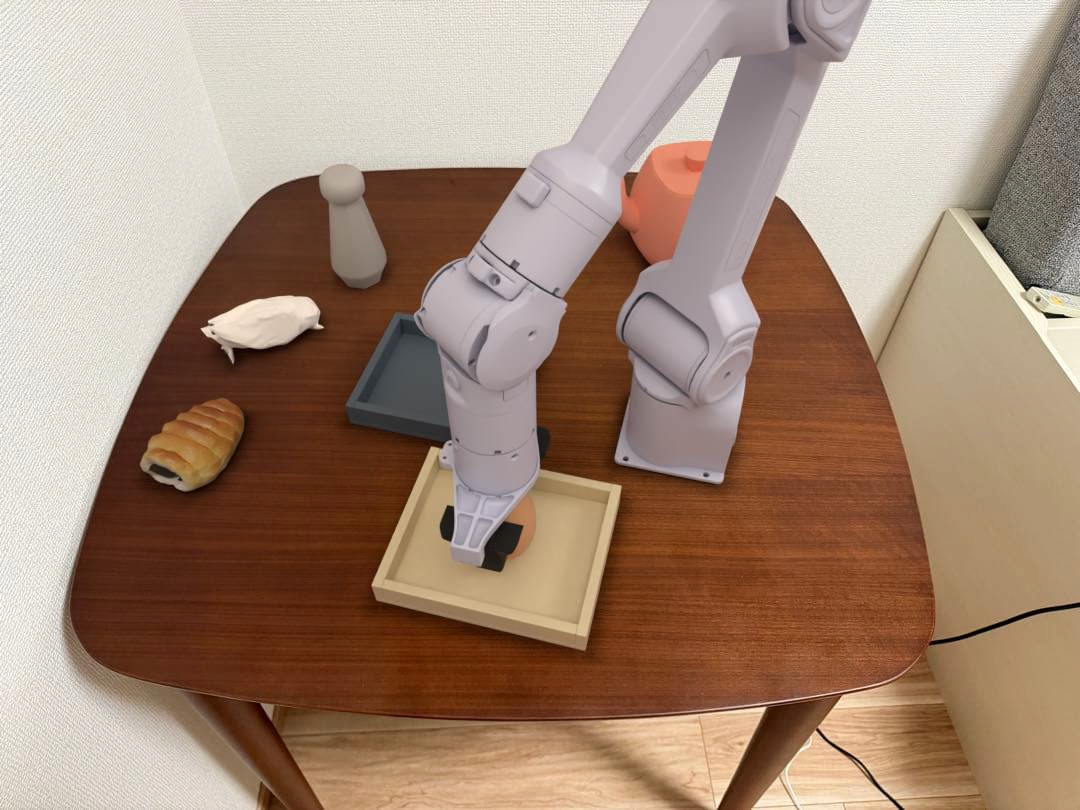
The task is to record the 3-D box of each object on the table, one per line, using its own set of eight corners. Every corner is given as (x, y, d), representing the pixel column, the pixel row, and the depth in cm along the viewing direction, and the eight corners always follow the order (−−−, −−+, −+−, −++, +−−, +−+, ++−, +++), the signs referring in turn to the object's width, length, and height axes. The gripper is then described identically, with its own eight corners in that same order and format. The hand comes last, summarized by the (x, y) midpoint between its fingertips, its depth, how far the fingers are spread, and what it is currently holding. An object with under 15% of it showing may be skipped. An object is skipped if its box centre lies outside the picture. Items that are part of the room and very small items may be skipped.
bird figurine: (250, 387, 80) (333, 325, 82) (207, 339, 75) (297, 275, 77) (233, 364, 83) (314, 305, 85) (192, 317, 78) (278, 256, 80)
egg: (531, 511, 68) (529, 451, 62) (542, 572, 64) (541, 515, 58) (462, 521, 68) (453, 461, 61) (469, 583, 64) (460, 526, 58)
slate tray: (538, 355, 80) (538, 337, 79) (502, 454, 73) (501, 437, 71) (398, 329, 83) (395, 311, 81) (349, 423, 75) (344, 405, 73)
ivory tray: (619, 502, 69) (621, 485, 67) (585, 651, 61) (586, 636, 59) (434, 463, 72) (431, 446, 70) (376, 600, 64) (371, 585, 62)
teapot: (576, 221, 94) (579, 125, 85) (743, 202, 96) (764, 107, 87) (601, 299, 86) (608, 202, 76) (784, 276, 88) (812, 179, 78)
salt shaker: (379, 298, 86) (357, 193, 76) (327, 291, 87) (299, 186, 77) (396, 262, 90) (377, 158, 80) (347, 256, 90) (322, 152, 80)
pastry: (206, 402, 77) (193, 374, 74) (267, 423, 75) (256, 396, 72) (139, 478, 71) (122, 451, 68) (203, 503, 70) (188, 477, 67)
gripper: (468, 335, 59) (480, 449, 69) (396, 498, 50) (421, 601, 60) (563, 352, 58) (560, 465, 68) (507, 522, 49) (514, 623, 59)
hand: (501, 530), depth 64 cm, fingers closed on egg, 6 cm apart
